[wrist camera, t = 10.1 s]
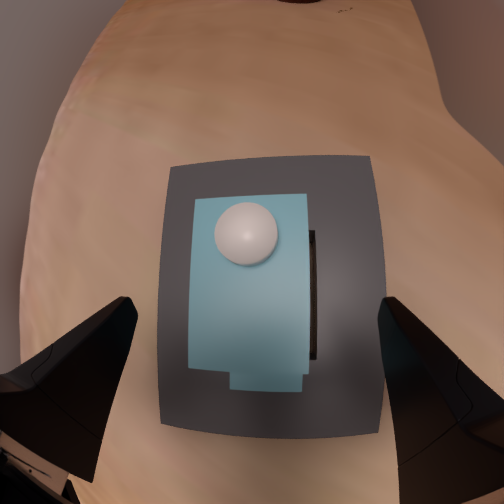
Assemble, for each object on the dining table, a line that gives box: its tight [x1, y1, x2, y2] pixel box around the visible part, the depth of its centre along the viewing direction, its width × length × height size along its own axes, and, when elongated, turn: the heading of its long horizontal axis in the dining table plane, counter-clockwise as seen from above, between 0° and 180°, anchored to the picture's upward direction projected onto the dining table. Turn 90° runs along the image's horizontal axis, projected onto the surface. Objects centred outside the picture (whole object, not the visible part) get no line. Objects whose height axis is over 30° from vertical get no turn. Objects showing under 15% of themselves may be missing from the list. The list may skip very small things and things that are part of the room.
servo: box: [188, 194, 310, 392], centre depth 13 cm, size 11×4×11 cm, turn 179°
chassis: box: [157, 155, 386, 439], centre depth 17 cm, size 18×14×3 cm
